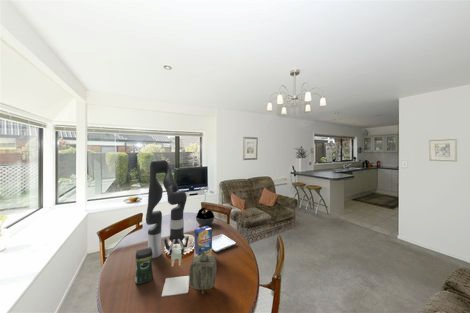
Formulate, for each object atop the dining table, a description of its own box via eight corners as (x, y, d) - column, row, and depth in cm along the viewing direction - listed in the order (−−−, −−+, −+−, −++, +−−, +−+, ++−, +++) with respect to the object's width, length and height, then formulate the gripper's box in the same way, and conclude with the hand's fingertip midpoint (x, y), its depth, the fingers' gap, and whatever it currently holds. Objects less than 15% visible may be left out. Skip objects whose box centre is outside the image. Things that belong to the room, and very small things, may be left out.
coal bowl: (194, 223, 201) (195, 206, 200) (212, 221, 207) (212, 205, 206) (196, 230, 182) (196, 211, 181) (216, 228, 188) (216, 210, 187)
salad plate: (215, 255, 138) (215, 250, 138) (201, 244, 155) (202, 240, 155) (236, 246, 152) (236, 242, 152) (222, 237, 168) (222, 233, 168)
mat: (165, 279, 110) (165, 278, 110) (189, 276, 113) (189, 275, 113) (161, 296, 97) (161, 296, 97) (188, 293, 99) (188, 292, 99)
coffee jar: (151, 273, 116) (152, 244, 115) (153, 280, 109) (153, 250, 109) (134, 278, 110) (134, 248, 110) (135, 286, 104) (135, 254, 104)
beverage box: (211, 258, 133) (212, 228, 133) (198, 263, 126) (198, 232, 126) (207, 253, 139) (207, 225, 138) (194, 259, 132) (194, 229, 132)
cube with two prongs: (172, 261, 107) (172, 249, 107) (181, 260, 108) (182, 248, 108) (171, 266, 101) (171, 254, 101) (181, 265, 103) (181, 253, 102)
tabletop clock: (216, 285, 106) (216, 242, 106) (215, 297, 97) (215, 251, 97) (191, 285, 105) (192, 243, 105) (188, 297, 96) (188, 251, 96)
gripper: (190, 222, 110) (189, 250, 110) (165, 224, 107) (164, 252, 107) (189, 227, 102) (189, 257, 102) (162, 229, 99) (162, 260, 100)
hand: (176, 254), depth 105 cm, fingers closed on cube with two prongs, 5 cm apart
